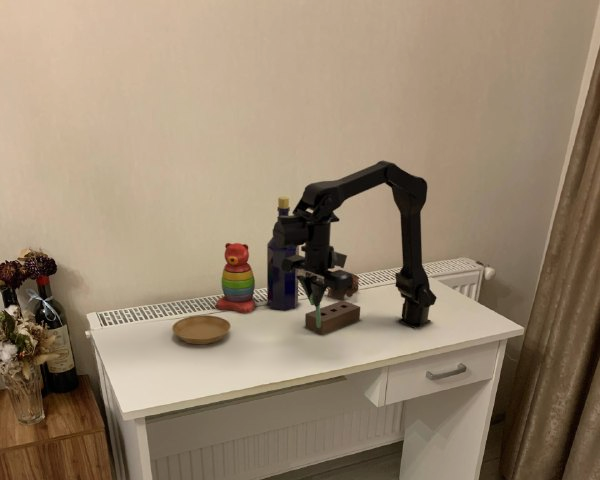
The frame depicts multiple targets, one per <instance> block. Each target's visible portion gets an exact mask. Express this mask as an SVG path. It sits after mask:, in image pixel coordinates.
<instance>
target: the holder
mask: <svg viewBox="0 0 600 480" xmlns="http://www.w3.org/2000/svg"><path fill="white" fill-rule="evenodd" d="M320 316H321V327H320V328H317V326H316V309H315V310H312V311H308V312H306V313H305V315H304V317H305V318H304V328H305V329H308V330H309V331H312V332H314V333H316V334H319V335H321V336H324V335H326V334H329V333H332V332H334V331H337V330H339V329H341V328H345V327H346V326H350V325H351V324H354V323H357V322H359V321H360V320H361V319H360V318H361V306H360V305H357V304H354V303H351V302H349V301H346V300H344V299H343V300H342V299H341V300H340V301H337V302H334V303H331V304H328V305H326V306H323V307H320Z"/></svg>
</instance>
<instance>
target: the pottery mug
mask: <svg viewBox="0 0 600 480" xmlns="http://www.w3.org/2000/svg"><path fill="white" fill-rule="evenodd" d="M350 273H351V274H352V275H353V285H351V286H348V287H345V288H342V289H339V290H333V289H330V288H327V296H328V297H331V298H335V299H338V300H341V301H342V300H344V299H345V296H346V297H347V298H352V297H353V296H354V294H356V293H357V292H359V285H360V282H359V280H360V277H359V276H358V275H357V274H354V273H352V272H350Z"/></svg>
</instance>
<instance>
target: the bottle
mask: <svg viewBox="0 0 600 480" xmlns="http://www.w3.org/2000/svg"><path fill="white" fill-rule="evenodd" d="M277 201H278V202H277V203H278V204H277V205H278V206H277V212H278V213H277V214H278V215H277V217H278V216H290V211H291V207H290V197H288V196H278V200H277ZM266 248H267V249H266V268H267V269H266V281H267V282H266V283H267V285H266V290H267V291H266V294H267V295H266V296H267V297H266V306H267V307H269V308H270V309H272V310H275V311H291V310H294V309H296V308H297V307H298V306H299V280H298V279H297V278H296V276H299V270H298V269H297V268H294V267H293V270H292V271H291V272H289V273H288V272H286V271H283V270H282V261H283V260H284V258H287V257H291V256H294V255H300V245H299V246H292V247H285V248H278V247H277V246H276V244H275V242H274V239H273V236H272V237H271V238H270V240H269V241H268V242H267V244H266Z"/></svg>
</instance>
